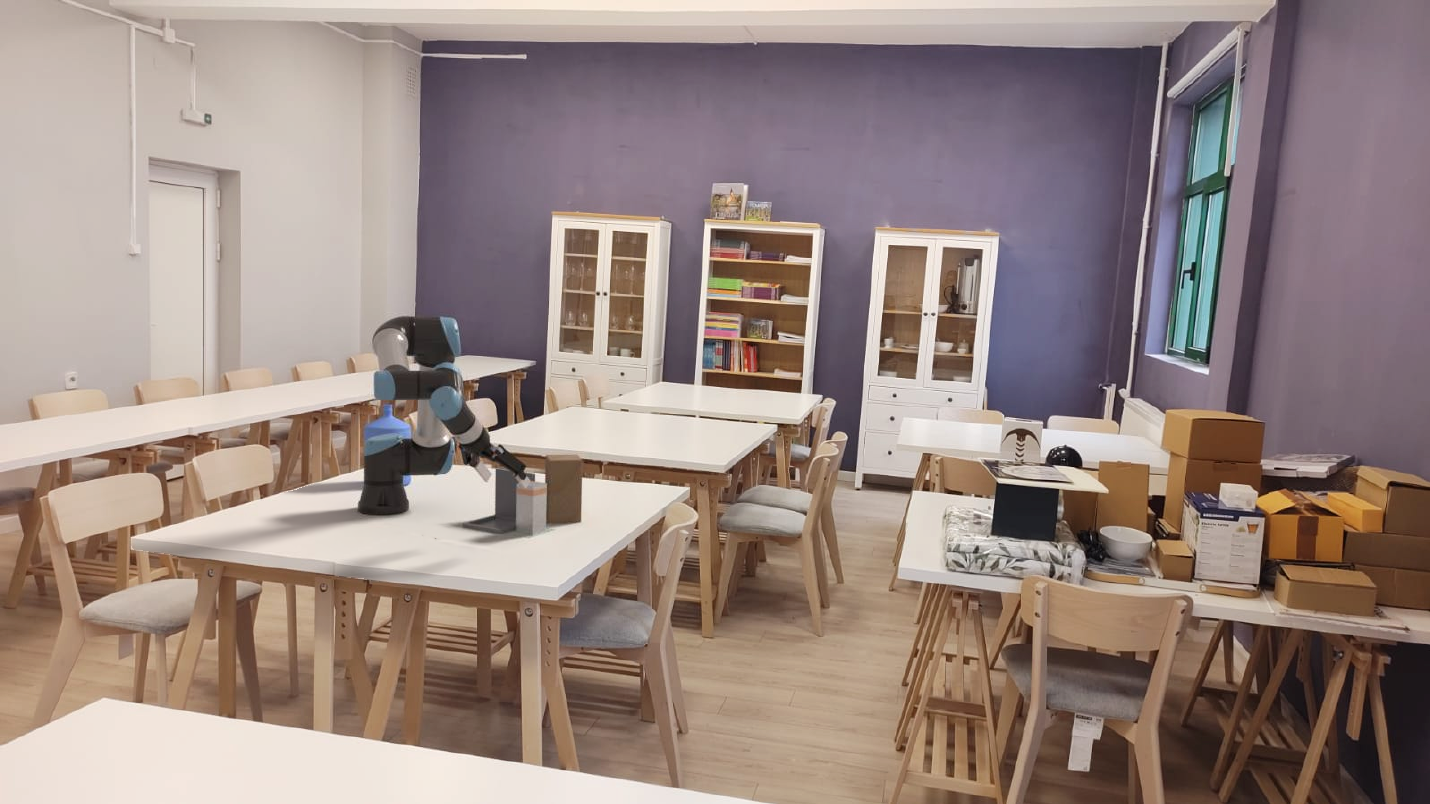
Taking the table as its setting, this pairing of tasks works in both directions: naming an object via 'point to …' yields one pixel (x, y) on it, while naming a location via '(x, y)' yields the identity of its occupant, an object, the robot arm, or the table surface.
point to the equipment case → (501, 505)
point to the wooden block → (563, 488)
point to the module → (531, 508)
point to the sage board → (529, 535)
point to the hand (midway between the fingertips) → (507, 481)
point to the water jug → (388, 429)
